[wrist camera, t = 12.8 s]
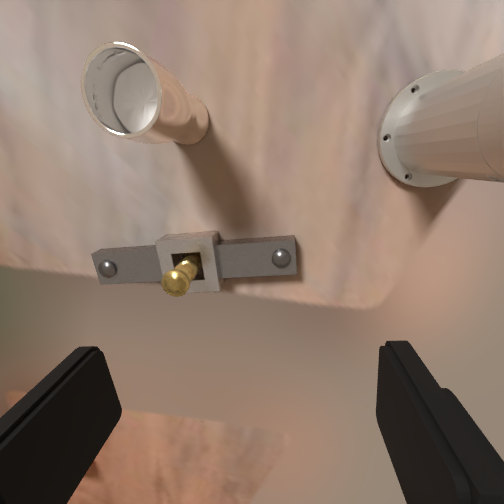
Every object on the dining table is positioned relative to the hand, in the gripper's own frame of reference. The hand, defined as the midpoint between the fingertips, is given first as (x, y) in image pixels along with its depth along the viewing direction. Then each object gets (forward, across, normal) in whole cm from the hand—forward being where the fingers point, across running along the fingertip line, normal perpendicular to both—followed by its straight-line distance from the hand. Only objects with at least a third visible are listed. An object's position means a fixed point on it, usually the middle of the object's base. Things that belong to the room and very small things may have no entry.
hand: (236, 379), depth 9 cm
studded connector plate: (+30, +12, +6) cm, 33 cm away
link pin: (+30, +12, +6) cm, 33 cm away
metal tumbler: (+31, +10, -13) cm, 35 cm away
